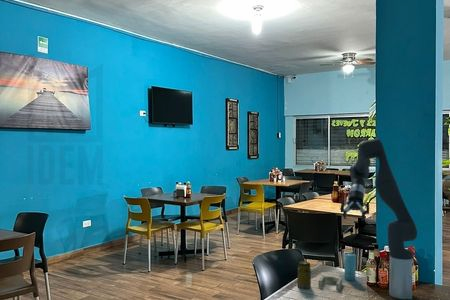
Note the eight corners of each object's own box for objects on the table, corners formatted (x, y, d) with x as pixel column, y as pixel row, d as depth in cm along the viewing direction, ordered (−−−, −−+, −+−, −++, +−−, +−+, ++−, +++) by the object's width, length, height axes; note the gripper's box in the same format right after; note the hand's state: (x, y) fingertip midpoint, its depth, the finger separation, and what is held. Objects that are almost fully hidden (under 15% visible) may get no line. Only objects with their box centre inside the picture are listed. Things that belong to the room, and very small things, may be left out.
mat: (363, 278, 199) (363, 277, 199) (360, 286, 189) (360, 284, 189) (340, 275, 203) (340, 274, 203) (336, 282, 193) (336, 281, 193)
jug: (356, 278, 197) (356, 254, 197) (353, 283, 191) (354, 258, 191) (345, 276, 200) (345, 252, 199) (342, 281, 193) (343, 256, 193)
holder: (343, 285, 190) (343, 277, 190) (339, 292, 181) (339, 284, 180) (321, 282, 194) (321, 274, 194) (317, 288, 185) (317, 281, 185)
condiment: (303, 284, 190) (303, 259, 190) (317, 289, 184) (318, 263, 184) (293, 288, 186) (293, 262, 185) (307, 293, 179) (307, 266, 179)
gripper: (342, 189, 216) (338, 213, 206) (370, 190, 210) (367, 215, 200) (343, 197, 221) (340, 221, 211) (371, 199, 215) (368, 224, 204)
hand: (353, 218), depth 205 cm, fingers open, 8 cm apart
